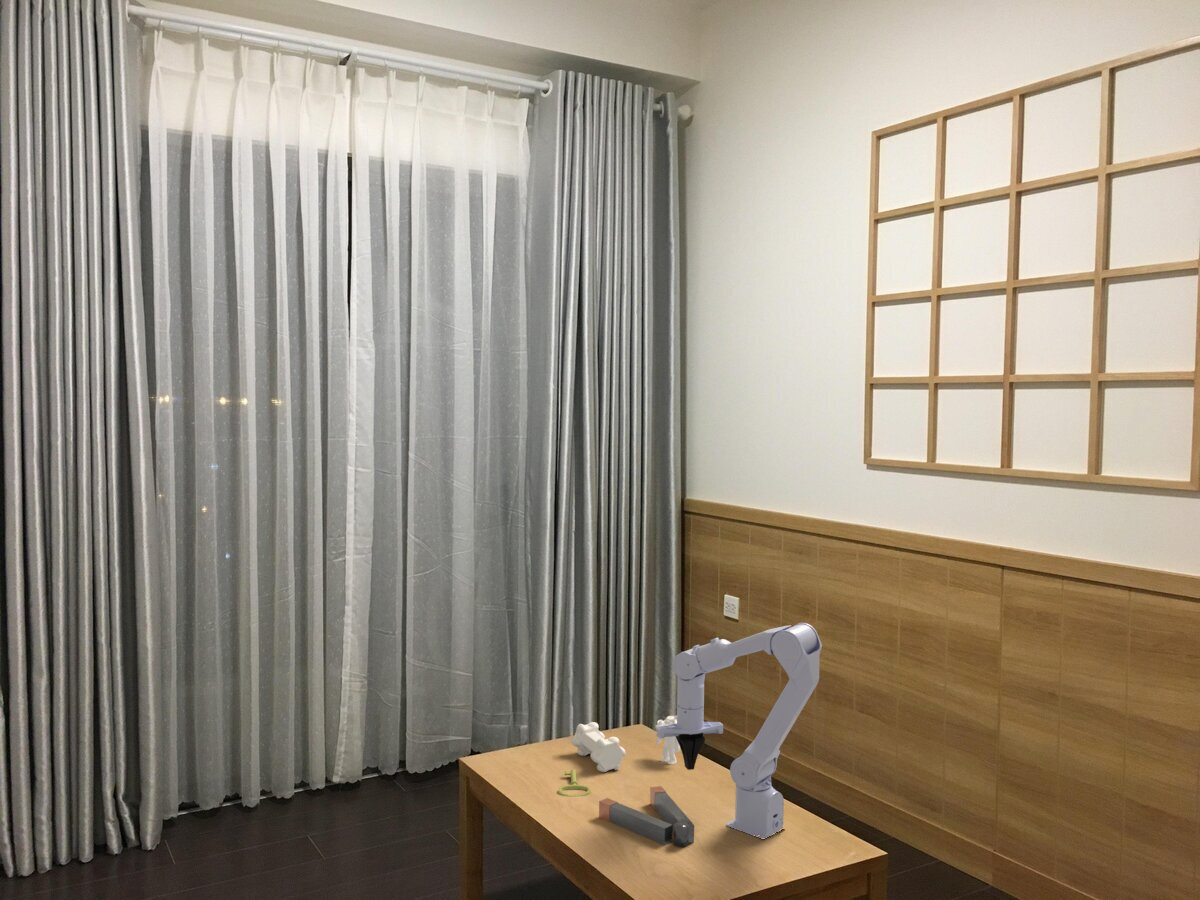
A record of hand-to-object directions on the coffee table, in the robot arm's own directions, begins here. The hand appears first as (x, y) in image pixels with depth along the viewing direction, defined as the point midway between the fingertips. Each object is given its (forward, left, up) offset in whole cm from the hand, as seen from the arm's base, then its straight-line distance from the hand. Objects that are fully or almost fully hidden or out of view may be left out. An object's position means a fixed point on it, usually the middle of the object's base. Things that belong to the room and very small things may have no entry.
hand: (689, 768), depth 207 cm
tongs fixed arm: (+1, +16, -9) cm, 18 cm away
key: (+26, +10, -10) cm, 29 cm away
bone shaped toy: (+33, -5, -9) cm, 35 cm away
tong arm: (-2, +9, -9) cm, 13 cm away
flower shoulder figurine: (+21, -18, -9) cm, 29 cm away
